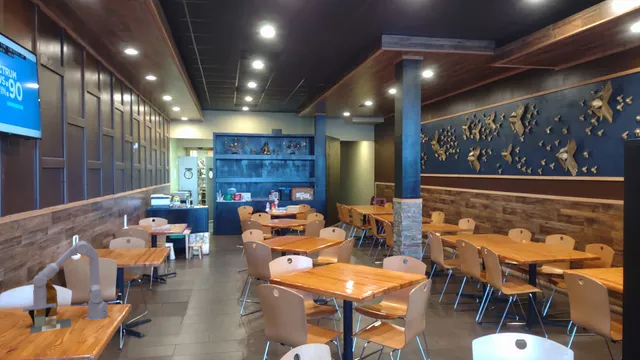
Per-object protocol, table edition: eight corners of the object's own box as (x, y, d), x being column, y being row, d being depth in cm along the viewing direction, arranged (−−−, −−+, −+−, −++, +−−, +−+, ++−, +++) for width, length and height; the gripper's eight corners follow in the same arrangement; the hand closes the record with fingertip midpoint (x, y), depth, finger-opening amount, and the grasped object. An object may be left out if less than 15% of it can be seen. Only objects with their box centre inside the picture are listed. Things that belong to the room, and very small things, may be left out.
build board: (70, 319, 231) (70, 318, 231) (71, 327, 219) (71, 326, 219) (31, 325, 222) (31, 324, 222) (29, 334, 209) (29, 333, 209)
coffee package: (55, 310, 246) (54, 273, 246) (58, 316, 237) (58, 277, 236) (34, 314, 240) (34, 275, 239) (37, 319, 230) (37, 280, 230)
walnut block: (56, 325, 220) (56, 315, 220) (56, 328, 217) (56, 318, 217) (45, 326, 218) (45, 317, 218) (45, 329, 214) (45, 320, 214)
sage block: (45, 323, 224) (45, 313, 224) (45, 325, 220) (45, 316, 220) (34, 324, 221) (34, 315, 221) (34, 327, 217) (34, 317, 217)
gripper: (56, 293, 228) (56, 318, 228) (23, 297, 220) (23, 323, 220) (56, 297, 222) (56, 322, 222) (22, 301, 214) (22, 327, 214)
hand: (39, 323), depth 221 cm, fingers closed on sage block, 5 cm apart
